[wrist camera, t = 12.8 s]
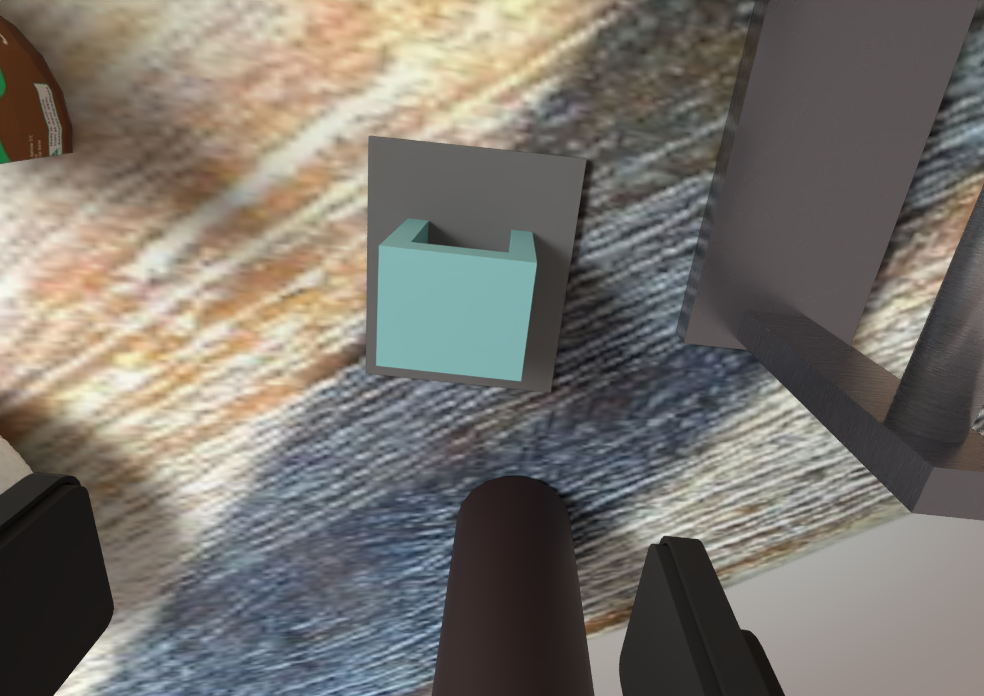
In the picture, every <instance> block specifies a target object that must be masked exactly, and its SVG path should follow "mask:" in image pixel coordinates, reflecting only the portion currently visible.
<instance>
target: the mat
mask: <svg viewBox="0 0 984 696" xmlns="http://www.w3.org/2000/svg"><path fill="white" fill-rule="evenodd" d="M586 160H587V159H586V158H577V157H567V156H558V155H548V154H539V153H529V152H520V151H510V150H501V149H491V148H482V147H472V146H463V145H453V144H444V143H434V142H425V141H415V140H406V139H396V138H387V137H377V136H369V144H368V234H367V324H366V373H368V374H378V375H388V376H397V377H407V378H416V379H426V380H436V381H445V382H455V383H464V384H474V385H484V386H493V387H503V388H512V389H522V390H531V391H541V392H551V386H552V380H553V373H554V367H555V361H556V354H557V348H558V341H559V335H560V328H561V322H562V315H563V309H564V302H565V296H566V289H567V283H568V276H569V270H570V263H571V257H572V251H573V244H574V238H575V231H576V225H577V218H578V212H579V205H580V199H581V192H582V186H583V179H584V173H585V166H586ZM408 218H410V219H419V220H428V221H429V225H428V243H427V244H434V245H443V246H452V247H462V248H471V249H480V250H489V251H498V252H507V253H509V247H510V239H511V230H519V231H528V232H532V234H533V240H534V247H535V253H536V260H537V267H536V274H535V281H534V289H533V296H532V303H531V311H530V318H529V326H528V333H527V340H526V348H525V355H524V363H523V370H522V377H521V381H513V380H504V379H495V378H486V377H476V376H467V375H458V374H449V373H439V372H430V371H421V370H412V369H402V368H393V367H384V366H376V350H377V308H378V266H379V245H380V244H381V243H382V242H383V241H384V240H385V239H387V238H388V237H389V236H390V235H391V234H392V233H393V232H394V231H395V230H396V229H397V228H398V227H399V226H400V225H401V224H403V223H404V222H405V221H406V220H407V219H408Z"/></svg>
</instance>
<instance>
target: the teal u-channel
mask: <svg viewBox="0 0 984 696" xmlns="http://www.w3.org/2000/svg"><path fill="white" fill-rule="evenodd" d="M428 225H429V221H428V220H419V219H410V218H408V219H407V220H406V221H405V222H404V223H403V224H401V225H400V226H399V227H398V228H397V229H396V230H395V231H394V232H393V233H392V234H391V235H390V236H389V237H388V238H387V239H385V240H384V241H383V242H382V243H381V244H380V245H379V266H378V308H377V350H376V366H384V367H393V368H402V369H412V370H421V371H430V372H439V373H449V374H458V375H467V376H476V377H486V378H495V379H504V380H513V381H521V377H522V370H523V363H524V355H525V348H526V340H527V333H528V326H529V318H530V311H531V303H532V296H533V289H534V281H535V274H536V267H537V260H536V253H535V247H534V240H533V234H532V232H528V231H519V230H511V239H510V247H509V253H507V252H498V251H489V250H480V249H471V248H462V247H452V246H443V245H434V244H427V243H428Z"/></svg>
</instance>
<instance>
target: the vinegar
mask: <svg viewBox="0 0 984 696" xmlns="http://www.w3.org/2000/svg"><path fill="white" fill-rule="evenodd" d="M432 696H594V689H593V683H592V675H591V668H590V660H589V653H588V646H587V639H586V631H585V624H584V617H583V609H582V602H581V595H580V588H579V580H578V573H577V566H576V559H575V551H574V544H573V537H572V530H571V522H570V516H569V514H568V511H567V509H566V506H565V504H564V502H563V500H562V499H561V498H560V497H559V496H558V495H557V494H556V492H555V491H554V490H553V489H552V488H550V487H548V486H546V485H545V484H543V483H541V482H540V481H538V480H534V479H530V478H526V477H522V476H503V477H499V478H496V479H492V480H489V481H486V482H484V483H483V484H481V485H480V486H478V487H476V488H475V489H473V490H472V491H471V492H470V494H469V495H468V496H467V498H466V499H465V500H464V501H463V503H462V504H461V508H460V511H459V514H458V517H457V523H456V530H455V537H454V544H453V551H452V558H451V565H450V572H449V579H448V586H447V593H446V600H445V607H444V614H443V621H442V628H441V635H440V641H439V648H438V655H437V662H436V669H435V676H434V683H433V690H432Z"/></svg>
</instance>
